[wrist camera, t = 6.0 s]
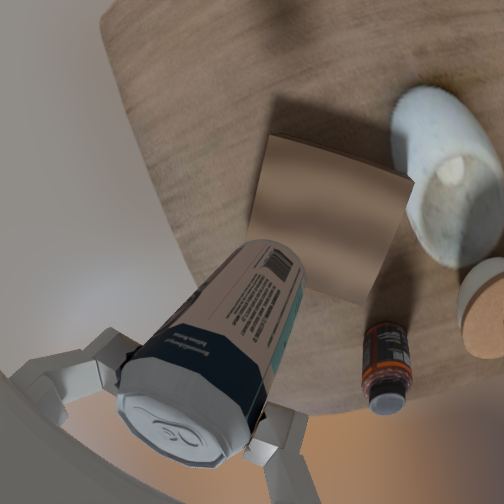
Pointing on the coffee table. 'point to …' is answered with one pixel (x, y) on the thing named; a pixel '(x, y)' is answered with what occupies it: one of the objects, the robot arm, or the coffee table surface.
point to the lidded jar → (483, 309)
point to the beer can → (215, 359)
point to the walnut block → (329, 213)
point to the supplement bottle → (386, 368)
